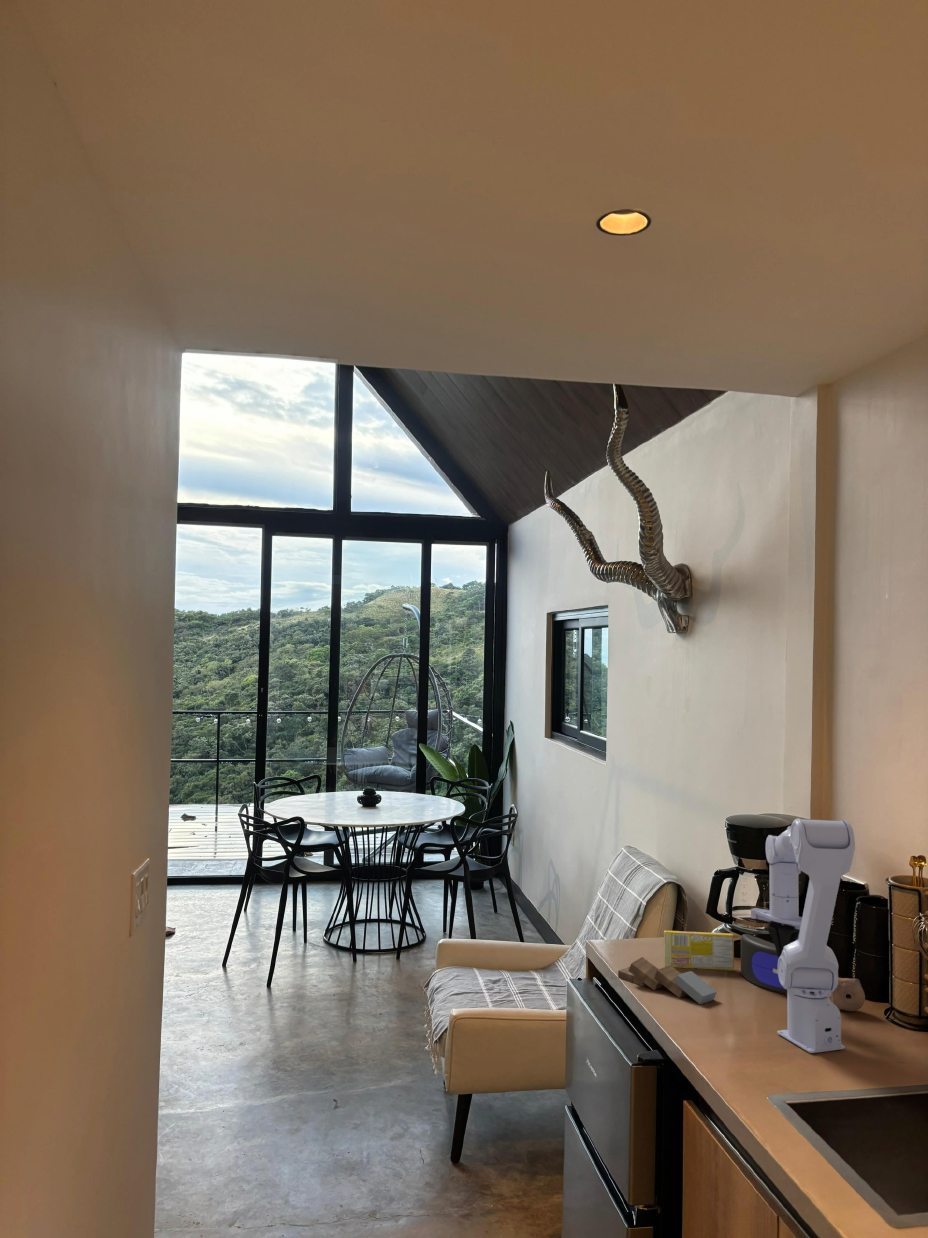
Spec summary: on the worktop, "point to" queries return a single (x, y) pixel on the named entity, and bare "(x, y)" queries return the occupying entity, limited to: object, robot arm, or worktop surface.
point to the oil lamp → (848, 994)
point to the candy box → (699, 950)
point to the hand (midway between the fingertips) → (784, 961)
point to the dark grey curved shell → (760, 963)
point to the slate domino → (695, 987)
